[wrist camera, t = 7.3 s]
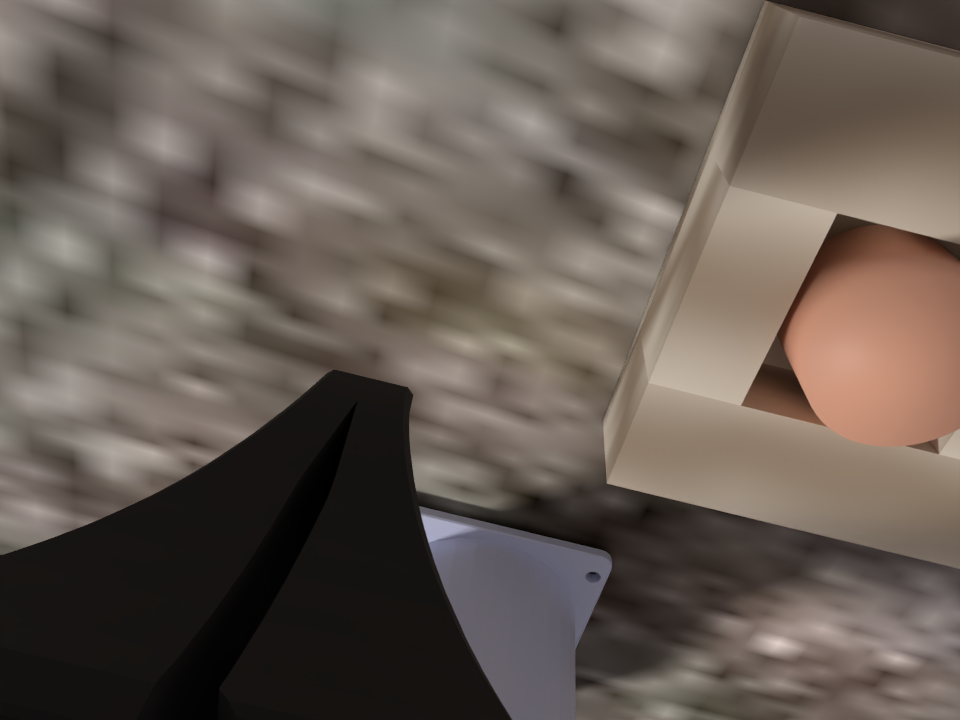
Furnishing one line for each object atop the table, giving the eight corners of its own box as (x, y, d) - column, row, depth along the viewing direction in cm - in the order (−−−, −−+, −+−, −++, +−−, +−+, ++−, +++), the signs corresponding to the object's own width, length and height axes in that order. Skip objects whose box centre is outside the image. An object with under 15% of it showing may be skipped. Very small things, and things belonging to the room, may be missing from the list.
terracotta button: (902, 395, 20) (950, 465, 18) (747, 356, 20) (772, 421, 18) (996, 249, 18) (1066, 305, 16) (820, 205, 18) (862, 253, 15)
